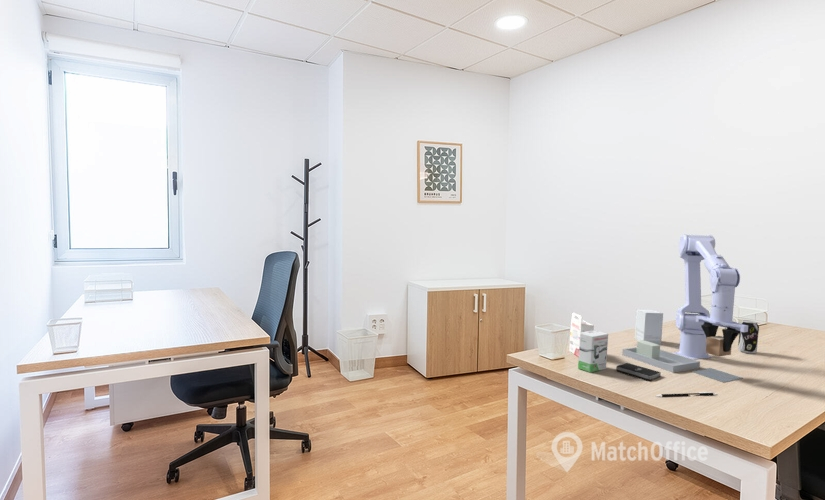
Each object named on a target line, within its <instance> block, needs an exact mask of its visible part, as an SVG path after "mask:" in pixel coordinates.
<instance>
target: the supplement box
mask: <svg viewBox="0 0 825 500" xmlns="http://www.w3.org/2000/svg"><path fill="white" fill-rule="evenodd" d="M635 313H636V314H635V326H634V339H635V340H636V341H637V342H638V341H648V342H651V343H655V344H658V345H662V338H663V337H662V335H663V322H664V313H663V312H661V311H658V310H655V309H641V308H640V309H636V312H635Z"/></svg>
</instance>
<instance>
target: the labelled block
mask: <svg viewBox="0 0 825 500" xmlns="http://www.w3.org/2000/svg"><path fill="white" fill-rule="evenodd" d="M723 343H724V338H723V335H716V336H713V337H707V342H706V353H708V355H712V356H716V357H725V356H730V355H732V346H731V348H730V351H729V352H724V351H723Z"/></svg>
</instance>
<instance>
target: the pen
mask: <svg viewBox="0 0 825 500" xmlns="http://www.w3.org/2000/svg"><path fill="white" fill-rule="evenodd" d="M709 395H710V396H718V393H716V392H715V393H714V392H713V391H699V392H697V393H696V392H691V393H690V392H689V393H687V392H686V393H662V394H657V395H655V397H656V398H675V397H677V398H678V397H680V398H681V397H691V396H694V397H702V396H703V397H705V396H706V397H707V396H709ZM710 396H709V397H710Z"/></svg>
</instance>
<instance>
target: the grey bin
mask: <svg viewBox="0 0 825 500" xmlns="http://www.w3.org/2000/svg"><path fill="white" fill-rule="evenodd" d="M621 353H622V354H621V355H622V356H624V357H626V358H630V359H632V360H636V361H638V362H641V363H644V364H647V365H649V366H653V367H656V368H659V369H661V370H665V371H667V372H670V373H678V372H686V371H692V370H698V369H700V367H701V361H698V360H697V359H696V360H694V359H690V358H687V357H684V356H681V355H677V354H674V352H670V351H666V350H663V349H660V357H659V359H657V360H656V359H653V358H650V357H647V356H644V355H641V354H638V353H637V346H636V347H630V348H629V347H628V348H622V351H621Z"/></svg>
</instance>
